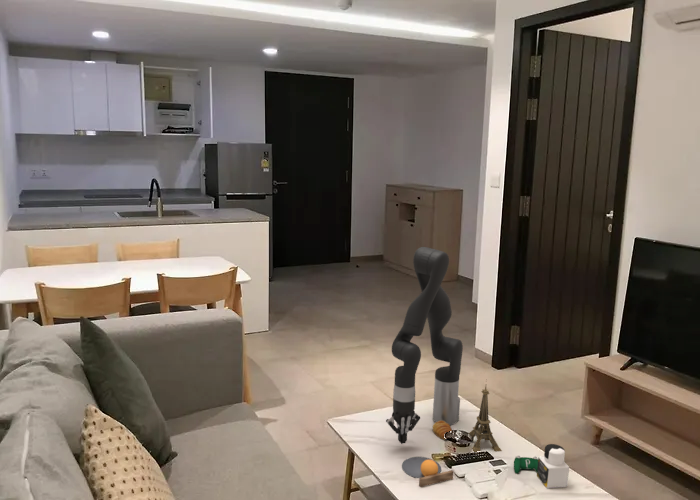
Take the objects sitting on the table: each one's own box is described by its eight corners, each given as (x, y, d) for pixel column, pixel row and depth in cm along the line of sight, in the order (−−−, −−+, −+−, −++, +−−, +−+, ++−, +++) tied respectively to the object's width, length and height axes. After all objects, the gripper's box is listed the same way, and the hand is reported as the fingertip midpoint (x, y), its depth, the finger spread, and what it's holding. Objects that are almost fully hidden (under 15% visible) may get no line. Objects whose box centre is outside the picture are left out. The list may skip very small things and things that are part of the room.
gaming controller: (541, 477, 195) (539, 458, 199) (544, 474, 192) (541, 455, 196) (513, 475, 196) (511, 457, 199) (515, 472, 193) (513, 454, 196)
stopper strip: (451, 477, 190) (451, 470, 190) (452, 478, 190) (453, 471, 189) (419, 485, 186) (419, 478, 185) (420, 487, 185) (421, 479, 184)
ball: (430, 458, 194) (438, 457, 190) (435, 476, 193) (443, 475, 188) (415, 462, 192) (423, 461, 187) (420, 480, 190) (427, 479, 186)
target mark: (427, 454, 204) (428, 453, 204) (449, 473, 192) (449, 473, 192) (394, 461, 199) (394, 461, 199) (414, 482, 187) (414, 481, 187)
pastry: (456, 440, 214) (457, 430, 214) (439, 442, 213) (439, 432, 212) (447, 428, 223) (447, 418, 223) (430, 429, 222) (430, 420, 221)
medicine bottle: (536, 475, 193) (539, 442, 190) (556, 474, 194) (560, 441, 191) (546, 488, 186) (549, 453, 183) (567, 487, 187) (571, 452, 184)
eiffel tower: (501, 451, 208) (507, 384, 203) (473, 453, 205) (478, 386, 201) (489, 436, 218) (493, 372, 213) (462, 438, 216) (466, 374, 211)
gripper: (415, 389, 210) (413, 434, 213) (382, 395, 205) (380, 440, 208) (426, 397, 203) (424, 444, 206) (392, 404, 198) (390, 451, 201)
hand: (402, 442), depth 207 cm, fingers closed
